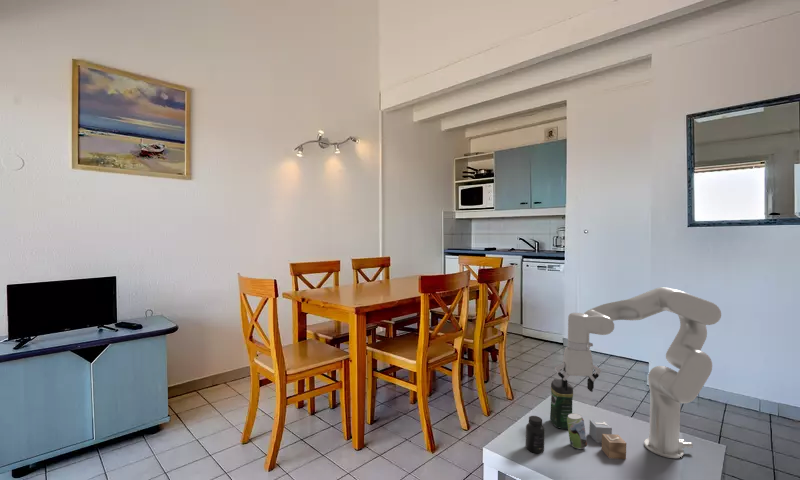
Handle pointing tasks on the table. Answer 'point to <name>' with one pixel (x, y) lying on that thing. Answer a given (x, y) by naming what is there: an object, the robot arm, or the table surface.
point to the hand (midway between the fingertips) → (577, 389)
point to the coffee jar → (560, 403)
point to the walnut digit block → (614, 446)
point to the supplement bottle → (535, 435)
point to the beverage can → (576, 431)
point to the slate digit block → (599, 429)
